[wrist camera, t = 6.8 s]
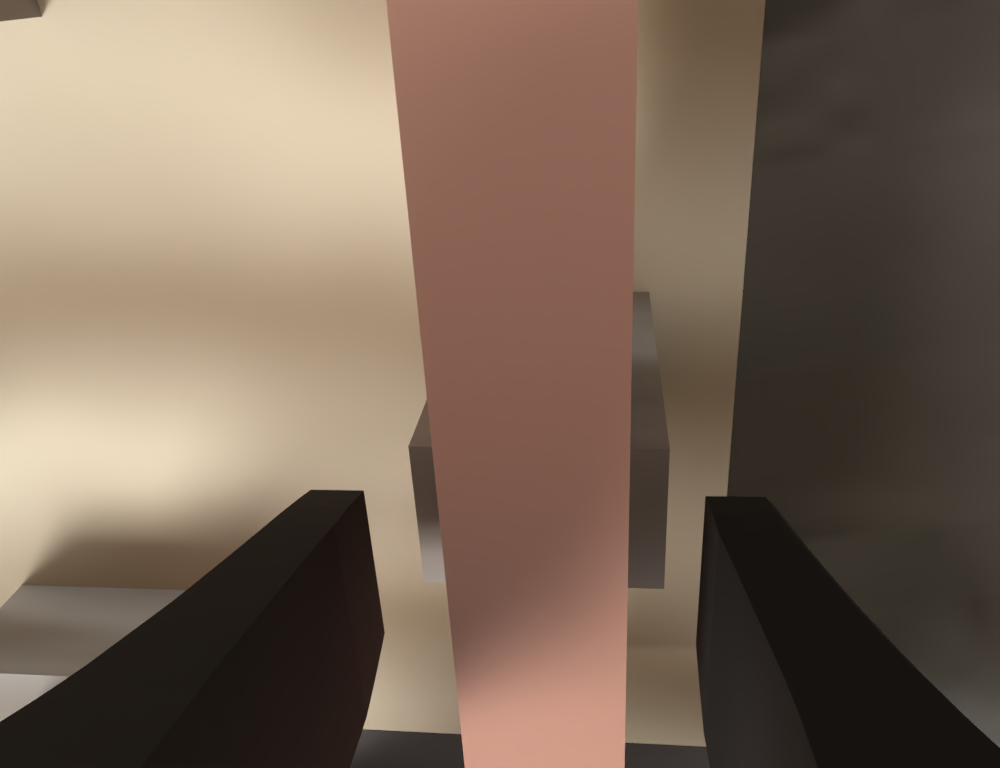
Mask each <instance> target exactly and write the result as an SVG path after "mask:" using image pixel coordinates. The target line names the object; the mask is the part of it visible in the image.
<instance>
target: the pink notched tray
mask: <svg viewBox="0 0 1000 768" xmlns="http://www.w3.org/2000/svg"><path fill="white" fill-rule="evenodd" d="M386 4H387V14H388V24H389V33H390V43H391V53H392V63H393V72H394V82H395V92H396V102H397V111H398V121H399V131H400V141H401V150H402V160H403V170H404V180H405V189H406V199H407V209H408V219H409V228H410V238H411V248H412V258H413V267H414V277H415V287H416V297H417V306H418V316H419V326H420V336H421V345H422V355H423V365H424V375H425V384H426V394H427V404H428V414H429V423H430V433H431V443H432V453H433V462H434V472H435V482H436V492H437V501H438V511H439V521H440V531H441V540H442V550H443V560H444V570H445V579H446V589H447V599H448V609H449V618H450V628H451V638H452V648H453V657H454V667H455V677H456V687H457V696H458V706H459V716H460V726H461V735H462V745H463V755H464V765H465V768H625V716H626V660H627V603H628V547H629V491H630V434H631V378H632V322H633V266H634V209H635V153H636V97H637V40H638V0H386Z"/></svg>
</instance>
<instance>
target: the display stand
mask: <svg viewBox="0 0 1000 768" xmlns="http://www.w3.org/2000/svg"><path fill="white" fill-rule="evenodd" d="M765 1H766V0H638V40H637V97H636V153H635V209H634V266H633V322H632V378H631V434H630V491H629V547H628V603H627V660H626V716H625V743H644V744H664V745H684V746H703V747H706V742H705V737H704V730H703V720H702V709H701V698H700V687H699V675H698V664H697V652H696V635H697V619H698V604H699V588H700V573H701V557H702V542H703V526H704V511H705V496H727V488H728V475H729V462H730V449H731V437H732V424H733V411H734V398H735V385H736V373H737V360H738V347H739V334H740V321H741V308H742V296H743V283H744V270H745V257H746V244H747V232H748V219H749V206H750V193H751V180H752V167H753V155H754V142H755V129H756V116H757V103H758V91H759V78H760V65H761V52H762V39H763V27H764V14H765ZM310 490H362V491H364V496H365V503H366V509H367V516H368V523H369V530H370V536H371V543H372V550H373V557H374V563H375V570H376V577H377V583H378V590H379V597H380V604H381V610H382V617H383V624H384V631H385V634H384V639H383V644H382V649H381V654H380V659H379V664H378V669H377V673H376V678H375V683H374V687H373V691H372V696H371V700H370V705H369V709H368V713H367V718H366V721H365V724H364V727H363V729H370V730H389V731H409V732H429V733H448V734H461V726H460V716H459V706H458V696H457V687H456V677H455V667H454V657H453V648H452V638H451V628H450V618H449V609H448V599H447V589H446V579H445V570H444V560H443V550H442V540H441V531H440V521H439V511H438V501H437V492H436V482H435V472H434V462H433V453H432V443H431V433H430V423H429V414H428V404H427V394H426V384H425V375H424V365H423V355H422V345H421V336H420V326H419V316H418V306H417V297H416V287H415V277H414V267H413V258H412V248H411V238H410V228H409V219H408V209H407V199H406V189H405V180H404V170H403V160H402V150H401V141H400V131H399V121H398V111H397V102H396V92H395V82H394V72H393V63H392V53H391V43H390V33H389V24H388V14H387V4H386V0H0V721H2V720H4V719H5V718H7V717H8V716H10V715H12V714H13V713H15V712H16V711H18V710H19V709H21V708H23V707H24V706H26V705H27V704H29V703H31V702H32V701H34V700H35V699H37V698H38V697H40V696H41V695H43V694H44V693H46V692H47V691H49V690H50V689H52V688H53V687H55V686H56V685H58V684H59V683H61V682H62V681H64V680H65V679H67V678H68V677H70V676H71V675H72V674H74V673H75V672H77V671H78V670H80V669H81V668H83V667H84V666H85V665H87V664H88V663H90V662H91V661H92V660H94V659H95V658H96V657H98V656H99V655H100V654H102V653H103V652H104V651H106V650H107V649H108V648H110V647H111V646H113V645H114V644H115V643H117V642H118V641H119V640H121V639H122V638H123V637H125V636H126V635H127V634H129V633H130V632H131V631H133V630H134V629H136V628H137V627H138V626H140V625H141V624H142V623H144V622H145V621H146V620H148V619H149V618H150V617H152V616H153V615H154V614H156V613H157V612H158V611H160V610H161V609H163V608H164V607H165V606H167V605H168V604H169V603H171V602H172V601H173V600H174V599H176V598H177V597H178V596H180V595H181V594H182V593H183V592H185V591H186V590H187V589H188V588H190V587H191V586H192V585H193V584H194V583H196V582H197V581H198V580H199V579H201V578H202V577H203V576H204V575H206V574H207V573H208V572H209V571H211V570H212V569H213V568H214V567H216V566H217V565H218V564H219V563H220V562H222V561H223V560H224V559H225V558H227V557H228V556H229V555H230V554H232V553H233V552H234V551H235V550H236V549H238V548H239V547H240V546H241V545H243V544H244V543H245V542H246V541H247V540H249V539H250V538H251V537H252V536H253V535H255V534H256V533H257V532H258V531H259V530H261V529H262V528H263V527H264V526H265V525H267V524H268V523H269V522H270V521H271V520H273V519H274V518H275V517H276V516H278V515H279V514H280V513H281V512H282V511H284V510H285V509H286V508H287V507H289V506H290V505H291V504H292V503H294V502H295V501H296V500H297V499H299V498H300V497H301V496H303V495H304V494H306V493H307V492H308V491H310Z"/></svg>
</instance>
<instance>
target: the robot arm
mask: <svg viewBox="0 0 1000 768" xmlns="http://www.w3.org/2000/svg"><path fill="white" fill-rule="evenodd" d="M384 634H385V631H384V624H383V617H382V610H381V604H380V597H379V590H378V583H377V577H376V570H375V563H374V557H373V550H372V543H371V536H370V530H369V523H368V516H367V509H366V503H365V496H364V491H362V490H310V491H308V492H307V493H306V494H304V495H303V496H301V497H300V498H299V499H297V500H296V501H295V502H294V503H292V504H291V505H290V506H289V507H287V508H286V509H285V510H284V511H282V512H281V513H280V514H279V515H278V516H276V517H275V518H274V519H273V520H271V521H270V522H269V523H268V524H267V525H265V526H264V527H263V528H262V529H261V530H259V531H258V532H257V533H256V534H255V535H253V536H252V537H251V538H250V539H249V540H247V541H246V542H245V543H244V544H243V545H241V546H240V547H239V548H238V549H236V550H235V551H234V552H233V553H232V554H230V555H229V556H228V557H227V558H225V559H224V560H223V561H222V562H220V563H219V564H218V565H217V566H216V567H214V568H213V569H212V570H211V571H209V572H208V573H207V574H206V575H204V576H203V577H202V578H201V579H199V580H198V581H197V582H196V583H194V584H193V585H192V586H191V587H190V588H188V589H187V590H186V591H185V592H183V593H182V594H181V595H180V596H178V597H177V598H176V599H174V600H173V601H172V602H171V603H169V604H168V605H167V606H165V607H164V608H163V609H161V610H160V611H158V612H157V613H156V614H154V615H153V616H152V617H150V618H149V619H148V620H146V621H145V622H144V623H142V624H141V625H140V626H138V627H137V628H136V629H134V630H133V631H131V632H130V633H129V634H127V635H126V636H125V637H123V638H122V639H121V640H119V641H118V642H117V643H115V644H114V645H113V646H111V647H110V648H108V649H107V650H106V651H104V652H103V653H102V654H100V655H99V656H98V657H96V658H95V659H94V660H92V661H91V662H90V663H88V664H87V665H85V666H84V667H83V668H81V669H80V670H78V671H77V672H75V673H74V674H72V675H71V676H70V677H68V678H67V679H65V680H64V681H62V682H61V683H59V684H58V685H56V686H55V687H53V688H52V689H50V690H49V691H47V692H46V693H44V694H43V695H41V696H40V697H38V698H37V699H35V700H34V701H32V702H31V703H29V704H27V705H26V706H24V707H23V708H21V709H19V710H18V711H16V712H15V713H13V714H12V715H10V716H8V717H7V718H5V719H4V720H2V721H0V768H349V767H350V765H351V762H352V759H353V756H354V753H355V750H356V747H357V744H358V741H359V738H360V735H361V732H362V730H363V727H364V724H365V721H366V718H367V713H368V709H369V705H370V700H371V696H372V691H373V687H374V683H375V678H376V673H377V669H378V664H379V659H380V654H381V649H382V644H383V639H384ZM696 652H697V664H698V675H699V687H700V698H701V709H702V720H703V730H704V737H705V742H706V747H707V753H708V758H709V763H710V768H1000V748H999V747H998V746H997V745H996V744H995V743H994V742H992V741H991V740H990V739H989V738H988V737H987V736H986V735H985V734H984V733H983V732H981V731H980V730H979V729H978V728H977V727H976V726H975V725H974V724H973V723H972V722H971V721H970V720H969V719H967V718H966V717H965V716H964V715H963V714H962V713H961V712H960V711H959V710H958V709H957V708H956V707H955V706H954V705H953V704H952V703H951V702H950V701H949V700H948V699H947V698H946V697H945V696H944V695H943V694H942V693H941V692H940V691H939V690H938V689H937V688H936V687H935V686H934V685H933V684H932V683H930V682H929V681H928V680H927V679H926V678H925V677H924V676H923V675H922V674H921V673H920V672H919V671H918V670H917V669H916V667H915V666H914V665H913V664H912V663H911V662H910V661H909V660H908V659H907V658H906V657H905V656H904V655H903V654H902V653H901V652H900V651H899V650H898V649H897V648H896V647H895V646H894V645H893V644H892V643H891V641H890V640H889V639H888V638H887V637H886V636H885V635H884V634H883V633H882V632H881V631H880V630H879V628H878V627H877V626H876V625H875V624H874V623H873V622H872V621H871V620H870V619H869V618H868V616H867V615H866V614H865V613H864V612H863V611H862V610H861V609H860V608H859V607H858V606H857V605H856V603H855V602H854V601H853V600H852V599H851V598H850V597H849V596H848V594H847V593H846V592H845V591H844V590H843V589H842V588H841V586H840V585H839V584H838V583H837V582H836V581H835V580H834V578H833V577H832V576H831V575H830V574H829V572H828V571H827V570H826V569H825V568H824V567H823V565H822V564H821V563H820V562H819V561H818V559H817V558H816V557H815V556H814V555H813V553H812V552H811V551H810V550H809V549H808V547H807V546H806V545H805V544H804V543H803V541H802V540H801V539H800V538H799V536H798V535H797V534H796V533H795V531H794V530H793V529H792V528H791V526H790V525H789V524H788V523H787V521H786V520H785V519H784V518H783V516H782V515H781V514H780V513H779V511H778V510H777V509H776V508H775V507H774V505H773V504H772V503H771V502H770V501H769V500H768V499H767V498H766V497H728V496H705V511H704V526H703V542H702V557H701V573H700V588H699V604H698V619H697V635H696Z"/></svg>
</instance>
